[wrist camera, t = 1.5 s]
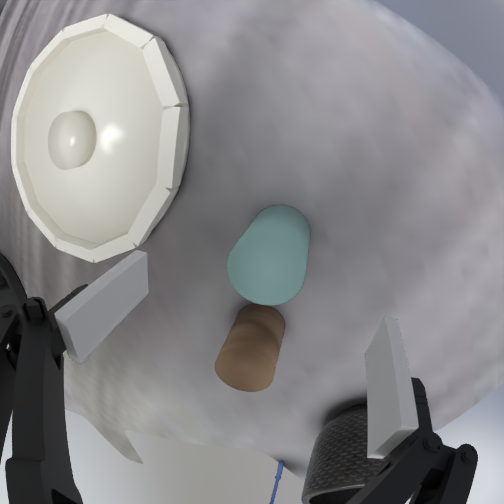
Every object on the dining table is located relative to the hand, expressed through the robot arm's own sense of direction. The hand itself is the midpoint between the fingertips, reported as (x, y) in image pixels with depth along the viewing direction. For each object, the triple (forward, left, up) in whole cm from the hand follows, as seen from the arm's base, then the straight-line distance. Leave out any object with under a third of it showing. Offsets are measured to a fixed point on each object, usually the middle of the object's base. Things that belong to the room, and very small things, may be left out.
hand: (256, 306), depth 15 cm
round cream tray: (-22, +6, -11) cm, 25 cm away
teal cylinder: (0, 0, -11) cm, 11 cm away
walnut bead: (0, -10, -11) cm, 15 cm away
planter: (+17, -23, -11) cm, 30 cm away
